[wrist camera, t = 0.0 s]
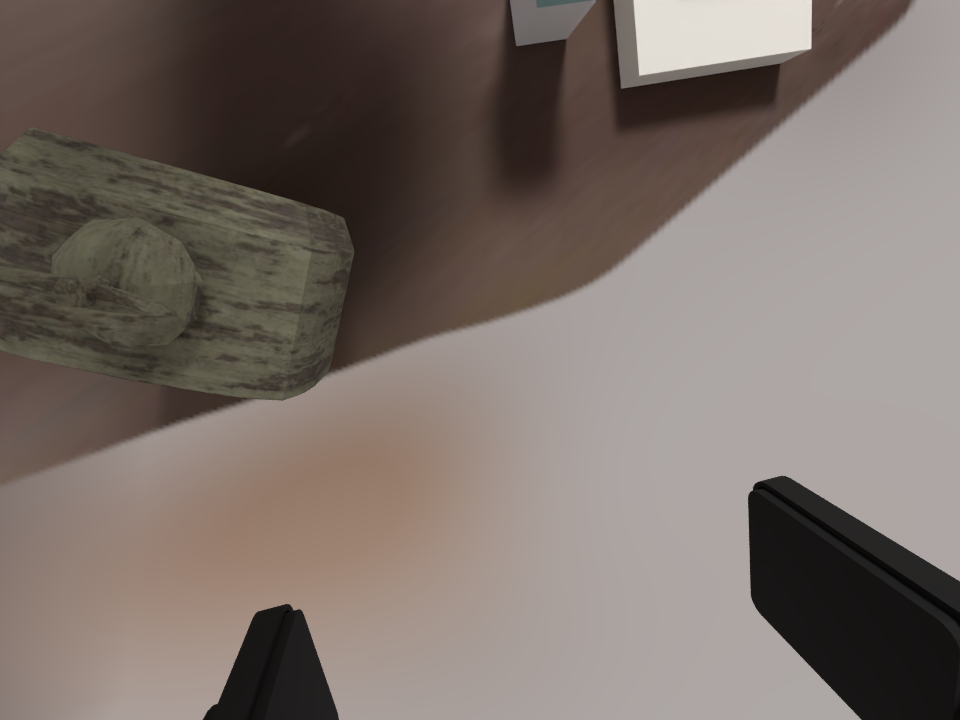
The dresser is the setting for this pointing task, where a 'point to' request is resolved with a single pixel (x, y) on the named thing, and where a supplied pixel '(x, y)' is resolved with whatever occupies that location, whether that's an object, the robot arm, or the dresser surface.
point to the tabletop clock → (165, 272)
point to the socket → (706, 36)
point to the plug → (546, 19)
